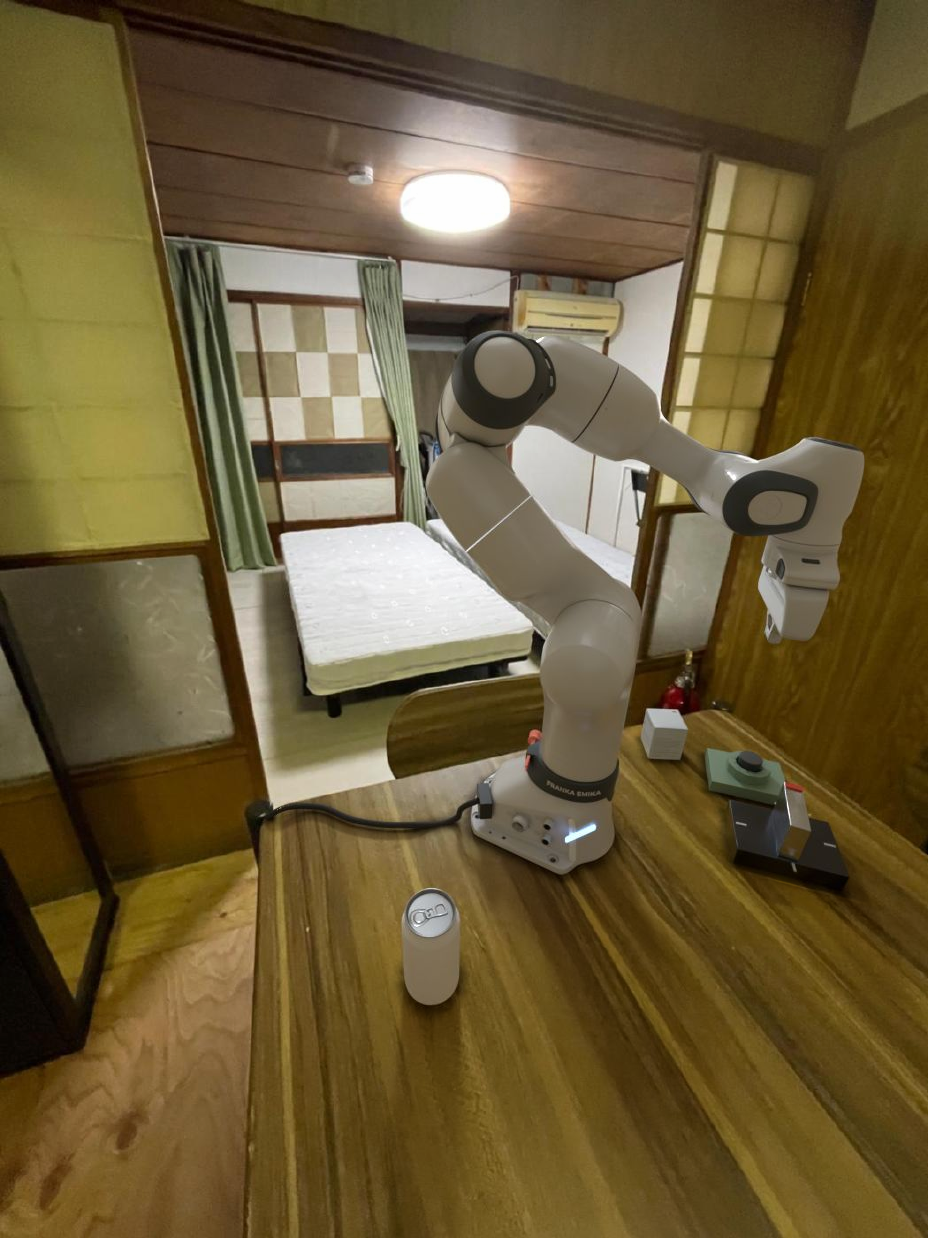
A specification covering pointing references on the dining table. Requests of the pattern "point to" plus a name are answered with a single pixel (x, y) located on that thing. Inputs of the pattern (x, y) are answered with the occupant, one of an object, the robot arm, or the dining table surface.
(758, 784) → the button block
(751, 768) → the button
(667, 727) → the product box
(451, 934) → the can
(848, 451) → the robot arm
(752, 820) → the base
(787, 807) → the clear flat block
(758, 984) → the dining table surface
